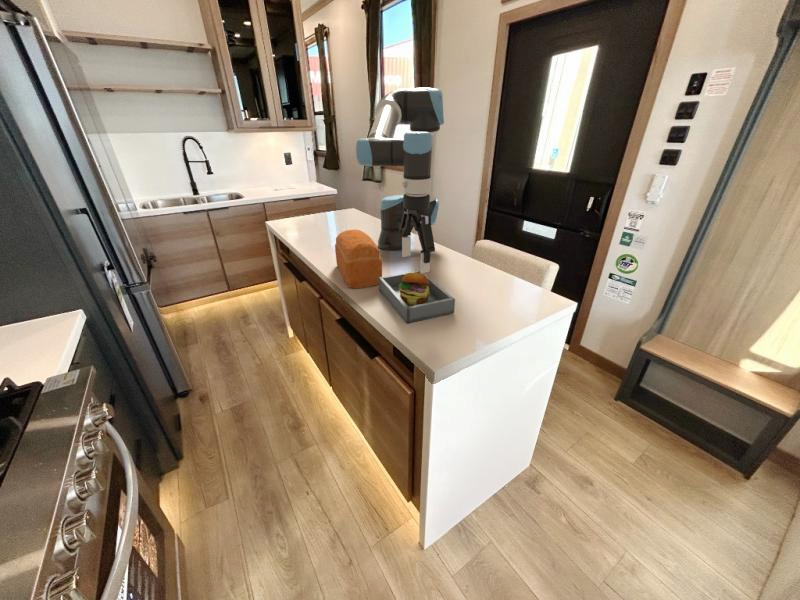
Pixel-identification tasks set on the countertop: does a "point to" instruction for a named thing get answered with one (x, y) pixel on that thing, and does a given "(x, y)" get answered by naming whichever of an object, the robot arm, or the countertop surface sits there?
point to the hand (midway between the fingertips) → (415, 263)
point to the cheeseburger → (414, 288)
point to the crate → (431, 308)
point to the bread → (358, 259)
